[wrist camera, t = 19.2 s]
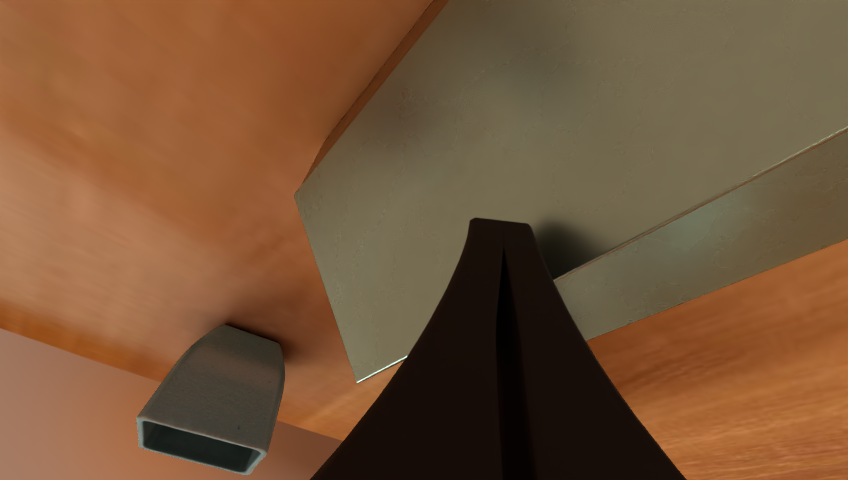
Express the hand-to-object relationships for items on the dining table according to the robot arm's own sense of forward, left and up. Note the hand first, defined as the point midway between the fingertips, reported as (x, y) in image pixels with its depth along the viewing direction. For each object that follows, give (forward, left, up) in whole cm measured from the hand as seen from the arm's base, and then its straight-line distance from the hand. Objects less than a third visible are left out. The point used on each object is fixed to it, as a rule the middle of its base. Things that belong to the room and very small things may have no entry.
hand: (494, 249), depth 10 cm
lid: (+1, 0, -3) cm, 3 cm away
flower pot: (+3, +32, -10) cm, 34 cm away
